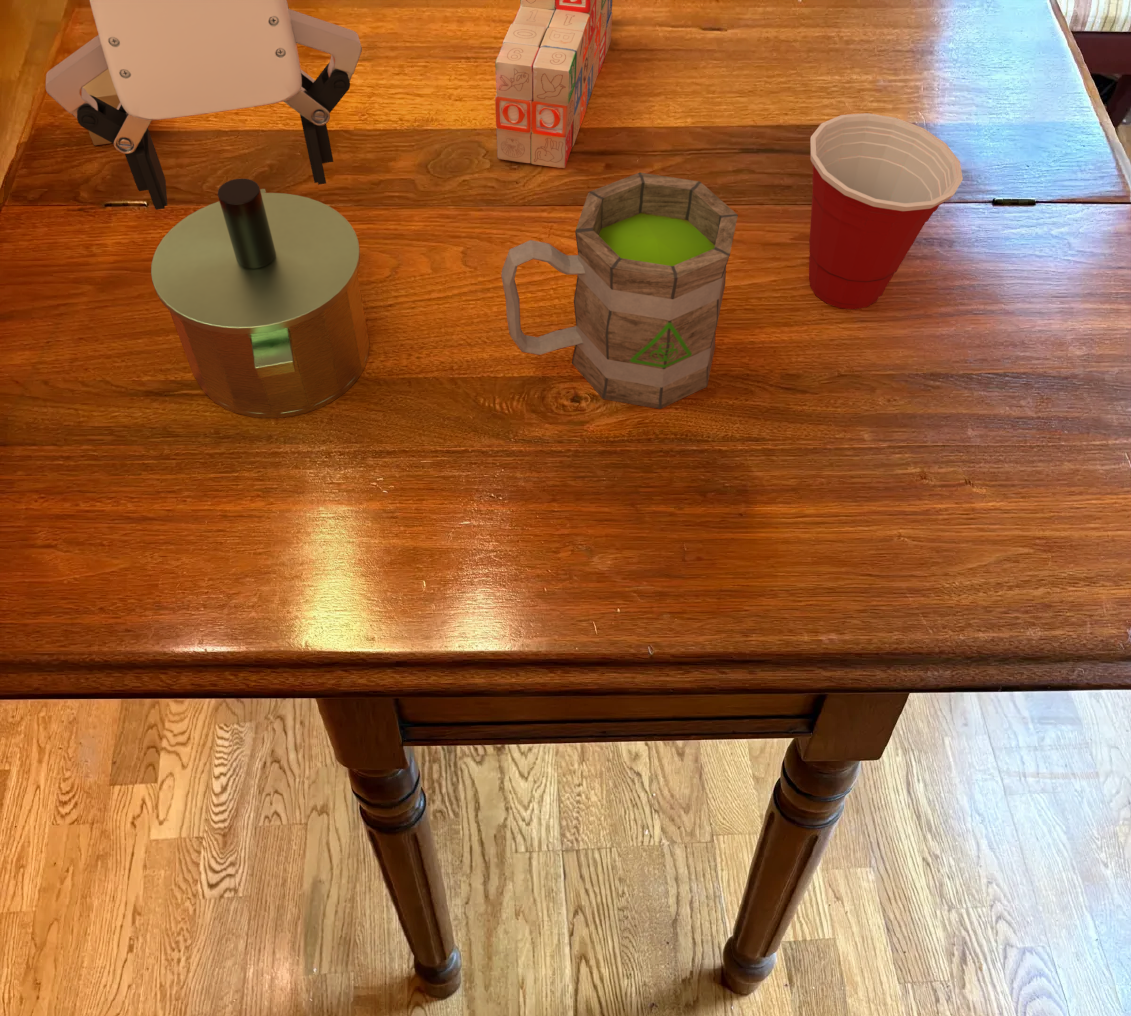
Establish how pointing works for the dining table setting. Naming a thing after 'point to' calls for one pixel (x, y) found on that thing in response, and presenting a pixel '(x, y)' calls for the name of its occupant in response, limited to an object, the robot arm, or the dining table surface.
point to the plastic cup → (871, 202)
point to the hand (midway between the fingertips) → (240, 183)
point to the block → (102, 98)
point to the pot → (281, 361)
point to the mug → (638, 288)
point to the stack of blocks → (548, 77)
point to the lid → (255, 261)
